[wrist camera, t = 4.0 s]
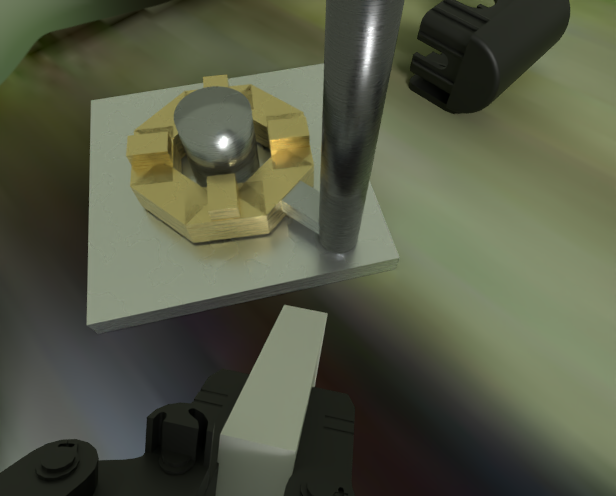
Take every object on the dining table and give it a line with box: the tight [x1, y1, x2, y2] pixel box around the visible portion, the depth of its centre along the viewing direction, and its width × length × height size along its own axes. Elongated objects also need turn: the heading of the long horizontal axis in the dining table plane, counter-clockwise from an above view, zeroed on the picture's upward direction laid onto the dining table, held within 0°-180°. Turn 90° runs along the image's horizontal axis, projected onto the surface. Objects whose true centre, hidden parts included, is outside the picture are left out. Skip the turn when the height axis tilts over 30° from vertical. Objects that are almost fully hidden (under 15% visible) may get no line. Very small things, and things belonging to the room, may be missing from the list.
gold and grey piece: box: [126, 0, 404, 254], centre depth 21 cm, size 16×11×15 cm
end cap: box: [409, 0, 570, 114], centre depth 32 cm, size 10×7×7 cm
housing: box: [87, 63, 400, 334], centre depth 27 cm, size 18×18×6 cm
